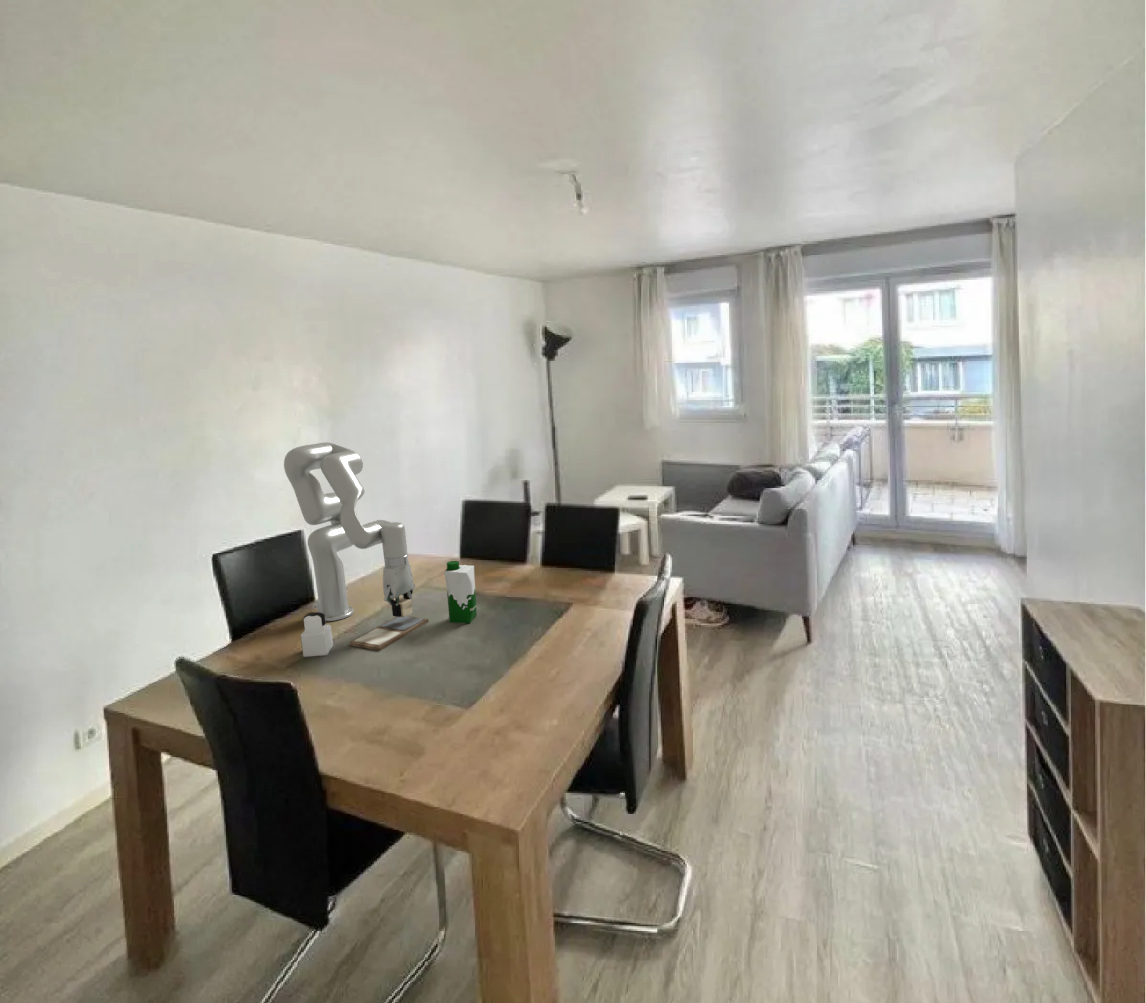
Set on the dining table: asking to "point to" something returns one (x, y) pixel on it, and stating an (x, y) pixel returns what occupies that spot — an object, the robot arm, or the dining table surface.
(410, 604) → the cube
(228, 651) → the dining table surface
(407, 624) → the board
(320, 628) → the medicine bottle
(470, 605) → the fresh milk carton
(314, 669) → the dining table surface
